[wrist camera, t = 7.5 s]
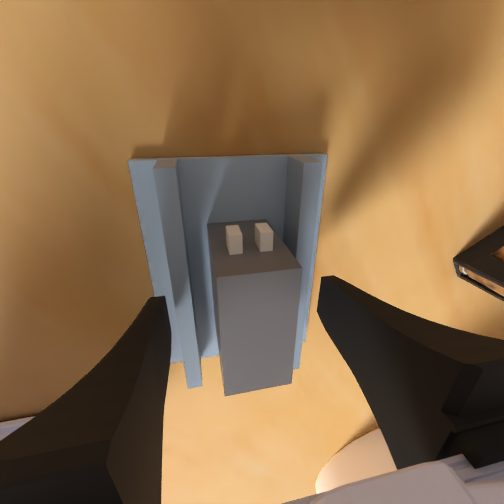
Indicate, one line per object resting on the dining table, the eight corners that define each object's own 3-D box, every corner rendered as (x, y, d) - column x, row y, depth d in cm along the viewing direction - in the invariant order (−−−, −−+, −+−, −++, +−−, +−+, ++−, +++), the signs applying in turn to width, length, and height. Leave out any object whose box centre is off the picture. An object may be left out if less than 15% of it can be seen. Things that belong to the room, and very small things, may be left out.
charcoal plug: (214, 319, 16) (224, 396, 12) (205, 207, 13) (214, 256, 9) (264, 312, 17) (291, 383, 12) (266, 203, 14) (304, 247, 9)
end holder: (168, 356, 17) (165, 392, 15) (130, 158, 12) (117, 169, 10) (301, 334, 19) (317, 364, 17) (322, 152, 14) (349, 161, 11)
